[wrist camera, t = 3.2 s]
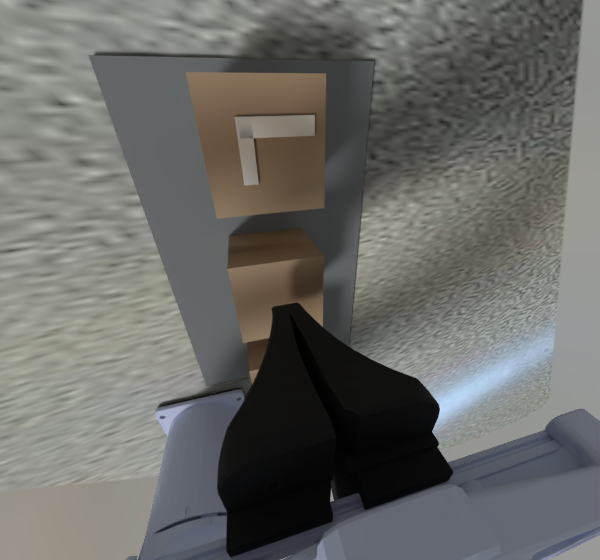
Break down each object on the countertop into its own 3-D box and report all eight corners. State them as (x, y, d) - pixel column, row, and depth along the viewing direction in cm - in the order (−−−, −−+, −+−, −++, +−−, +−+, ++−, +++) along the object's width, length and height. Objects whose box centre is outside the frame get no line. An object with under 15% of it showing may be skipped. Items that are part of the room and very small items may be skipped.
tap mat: (347, 352, 25) (348, 354, 25) (207, 383, 23) (206, 386, 22) (371, 62, 14) (374, 61, 13) (91, 57, 11) (88, 55, 11)
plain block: (303, 287, 20) (322, 327, 15) (240, 297, 19) (242, 343, 14) (301, 227, 17) (323, 255, 13) (228, 235, 16) (227, 268, 12)
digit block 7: (302, 190, 16) (328, 208, 12) (221, 197, 15) (216, 219, 11) (299, 95, 13) (331, 72, 9) (201, 96, 12) (185, 71, 8)
